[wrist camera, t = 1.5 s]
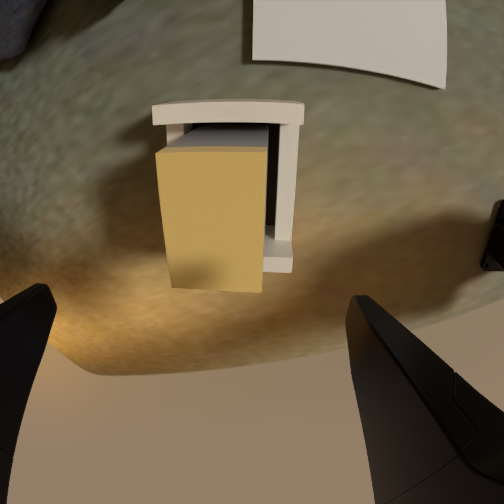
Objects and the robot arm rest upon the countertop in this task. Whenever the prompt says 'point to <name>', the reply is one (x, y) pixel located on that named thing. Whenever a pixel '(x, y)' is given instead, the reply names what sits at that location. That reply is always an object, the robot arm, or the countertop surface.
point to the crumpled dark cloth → (17, 25)
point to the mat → (356, 35)
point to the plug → (215, 207)
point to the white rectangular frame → (289, 119)
